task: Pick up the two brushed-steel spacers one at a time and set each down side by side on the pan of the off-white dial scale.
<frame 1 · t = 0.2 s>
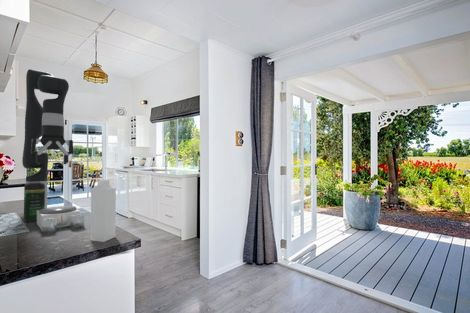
hand: (52, 164, 107), 27 cm above the counter, tool pointing down, fingers open, 8 cm apart
milk: (103, 239, 97), on the counter
steel spacer 1: (49, 231, 106), on the counter
dial scale: (58, 223, 118), on the counter
steel spacer 2: (77, 227, 113), on the counter
coffee jar: (34, 220, 124), on the counter
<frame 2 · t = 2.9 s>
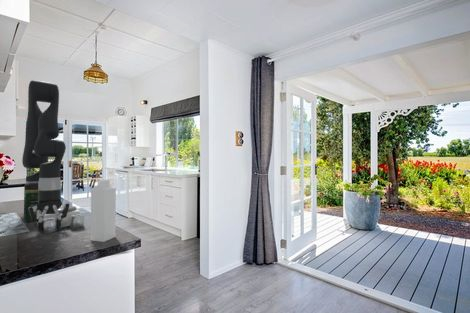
hand: (49, 229, 106), 1 cm above the counter, tool pointing down, fingers closed on steel spacer 1, 5 cm apart
steel spacer 1: (49, 231, 106), on the counter, touching gripper
everything else where it was.
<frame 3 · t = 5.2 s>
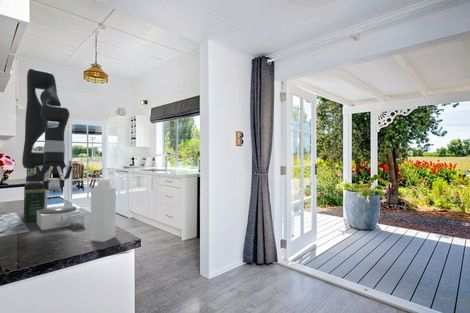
hand: (53, 188, 116), 16 cm above the counter, tool pointing down, fingers closed on steel spacer 1, 5 cm apart
steel spacer 1: (53, 190, 116), point 16 cm above the counter, touching gripper
everything else where it was.
when the fingers open (9 cm above the counter, at t = 7.6 s): steel spacer 1 drops 1 cm, resting on dial scale.
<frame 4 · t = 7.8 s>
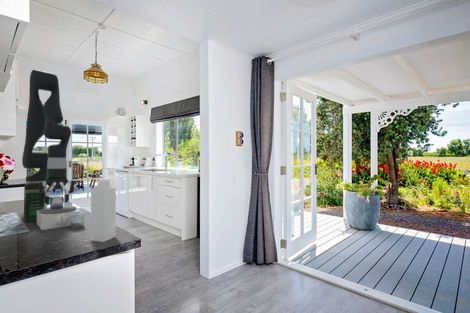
hand: (56, 203, 120), 9 cm above the counter, tool pointing down, fingers open, 6 cm apart
steel spacer 1: (56, 207, 120), point 7 cm above the counter, touching dial scale
everything else where it was.
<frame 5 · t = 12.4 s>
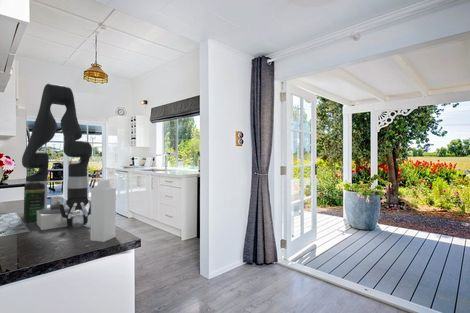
hand: (77, 225, 113), 1 cm above the counter, tool pointing down, fingers closed on steel spacer 2, 5 cm apart
steel spacer 2: (77, 227, 113), on the counter, touching gripper
everything else where it was.
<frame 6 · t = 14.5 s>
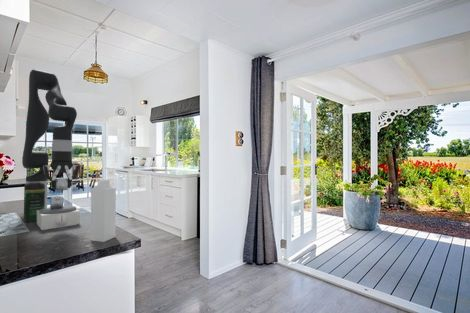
hand: (61, 188, 116), 17 cm above the counter, tool pointing down, fingers closed on steel spacer 2, 5 cm apart
steel spacer 2: (61, 189, 116), point 16 cm above the counter, touching gripper
everything else where it was.
when the fingers open (9 cm above the counter, at t = 16.6 s): steel spacer 2 drops 1 cm, resting on dial scale.
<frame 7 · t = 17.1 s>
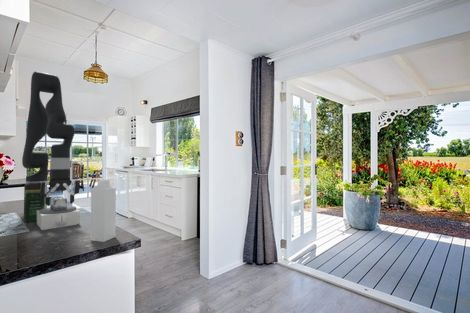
hand: (60, 204, 115), 9 cm above the counter, tool pointing down, fingers open, 8 cm apart
steel spacer 2: (60, 210, 115), point 7 cm above the counter, touching dial scale
everything else where it was.
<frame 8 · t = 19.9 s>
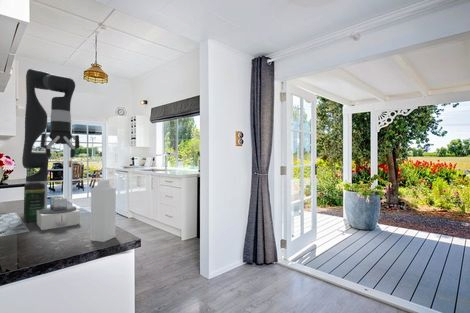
hand: (60, 157, 115), 30 cm above the counter, tool pointing down, fingers open, 8 cm apart
nothing on the counter moved.
at the end: steel spacer 1 inside the target area on the dial scale (3.5 cm from its centre), point 6.8 cm above the dial scale's base; steel spacer 2 inside the target area on the dial scale (3.5 cm from its centre), point 6.8 cm above the dial scale's base; steel spacer 2 tilted 0° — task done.
